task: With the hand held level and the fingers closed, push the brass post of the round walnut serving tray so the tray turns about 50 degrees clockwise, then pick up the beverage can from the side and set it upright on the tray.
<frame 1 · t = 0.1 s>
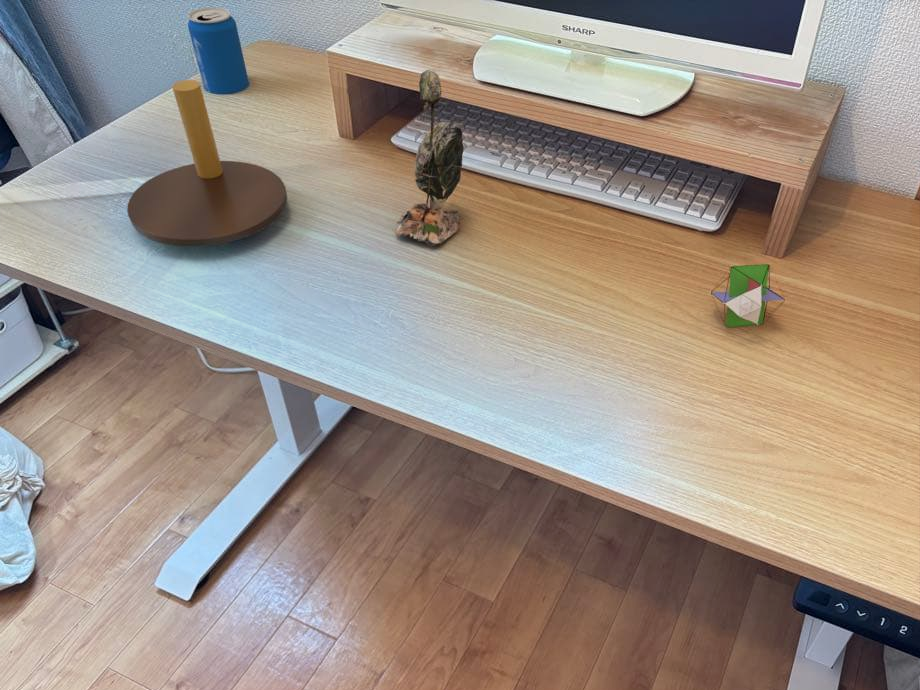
beverage can: (230, 99, 120), on the table
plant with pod: (433, 225, 98), on the table
geometric puzzle: (740, 321, 87), on the table
tray: (197, 158, 91), point 8 cm above the table, hinge at 0.0°
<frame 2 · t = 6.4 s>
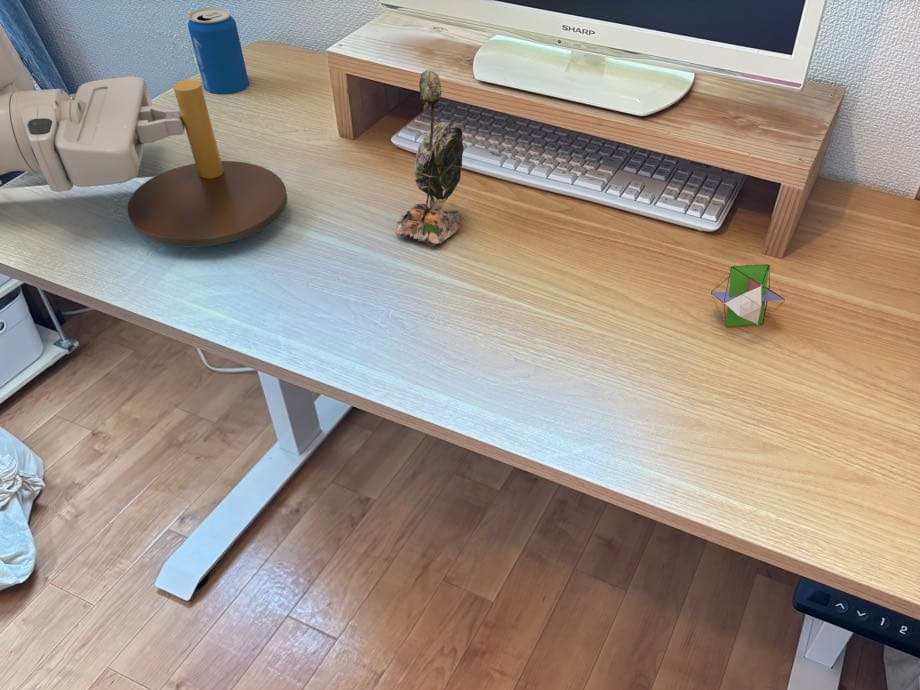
hand: (183, 121, 94), 9 cm above the table, tool horizontal, fingers closed, pressing on tray
tray: (197, 158, 91), point 8 cm above the table, hinge at -1.1°, touching gripper
everything else where it was.
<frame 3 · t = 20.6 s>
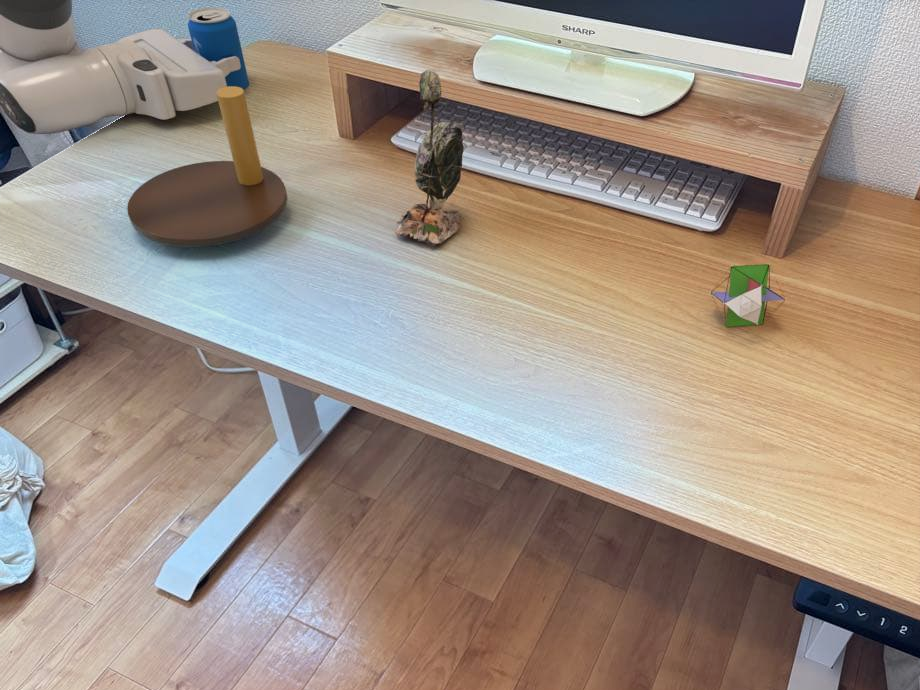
hand: (225, 52, 116), 7 cm above the table, tool horizontal, fingers closed on beverage can, 6 cm apart
beverage can: (230, 99, 120), on the table, touching gripper
tray: (197, 158, 91), point 8 cm above the table, hinge at -54.5°
everything else where it was.
when the fingers open (9 cm above the table, at t = 32.1 s): beverage can stays where it is, resting on tray.
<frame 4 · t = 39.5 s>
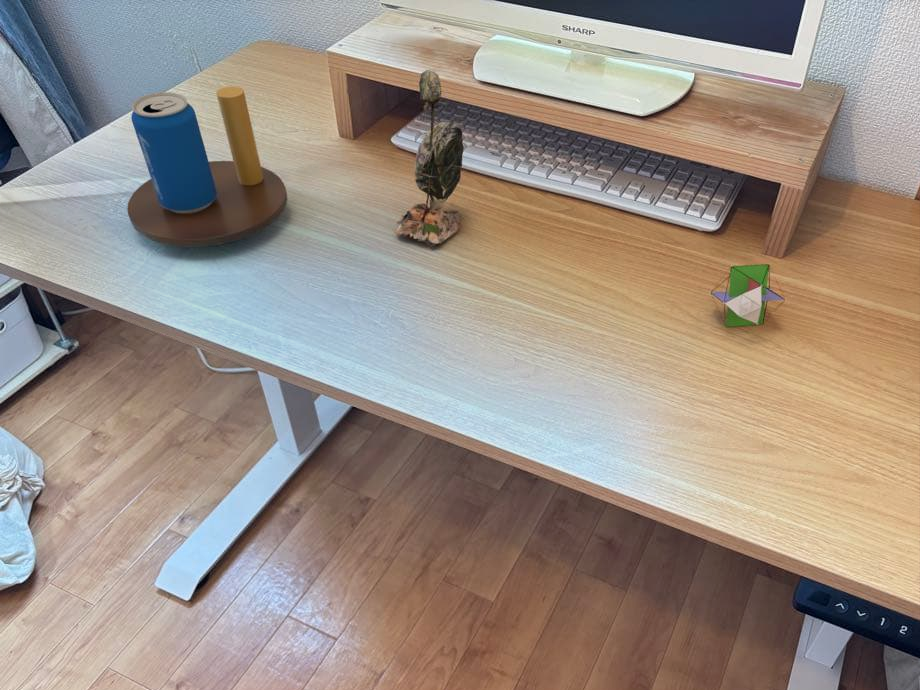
beverage can: (190, 203, 94), point 3 cm above the table, touching tray
tray: (197, 158, 91), point 8 cm above the table, hinge at -54.5°, touching beverage can
everything else where it was.
at the end: tray at -54° (first picture: +0°); beverage can inside the target area on the tray (2.2 cm from its centre), point 2.6 cm above the tray's base; beverage can tilted 0° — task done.
